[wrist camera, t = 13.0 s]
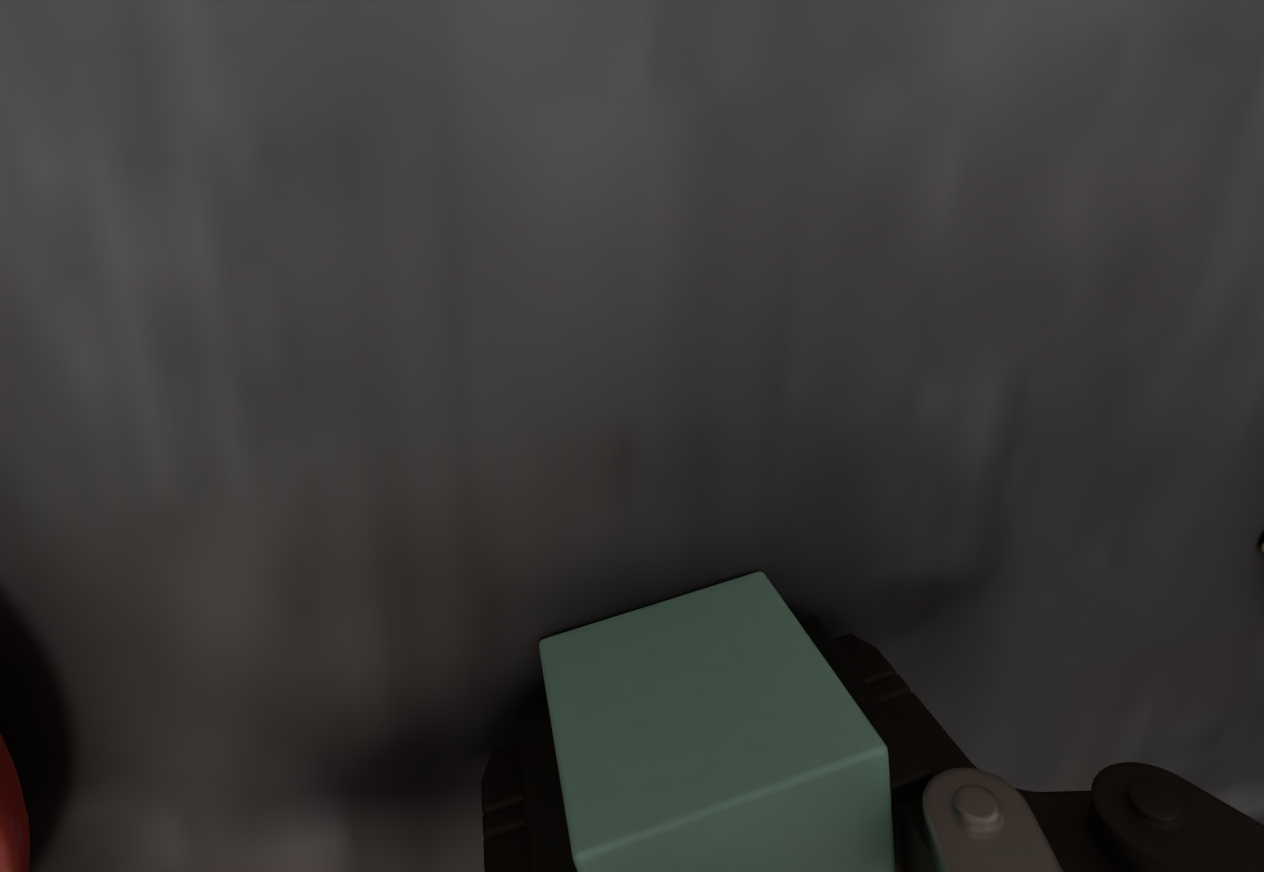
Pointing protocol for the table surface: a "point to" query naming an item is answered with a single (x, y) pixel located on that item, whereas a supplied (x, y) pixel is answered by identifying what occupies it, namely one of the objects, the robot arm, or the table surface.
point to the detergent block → (713, 742)
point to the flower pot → (12, 818)
